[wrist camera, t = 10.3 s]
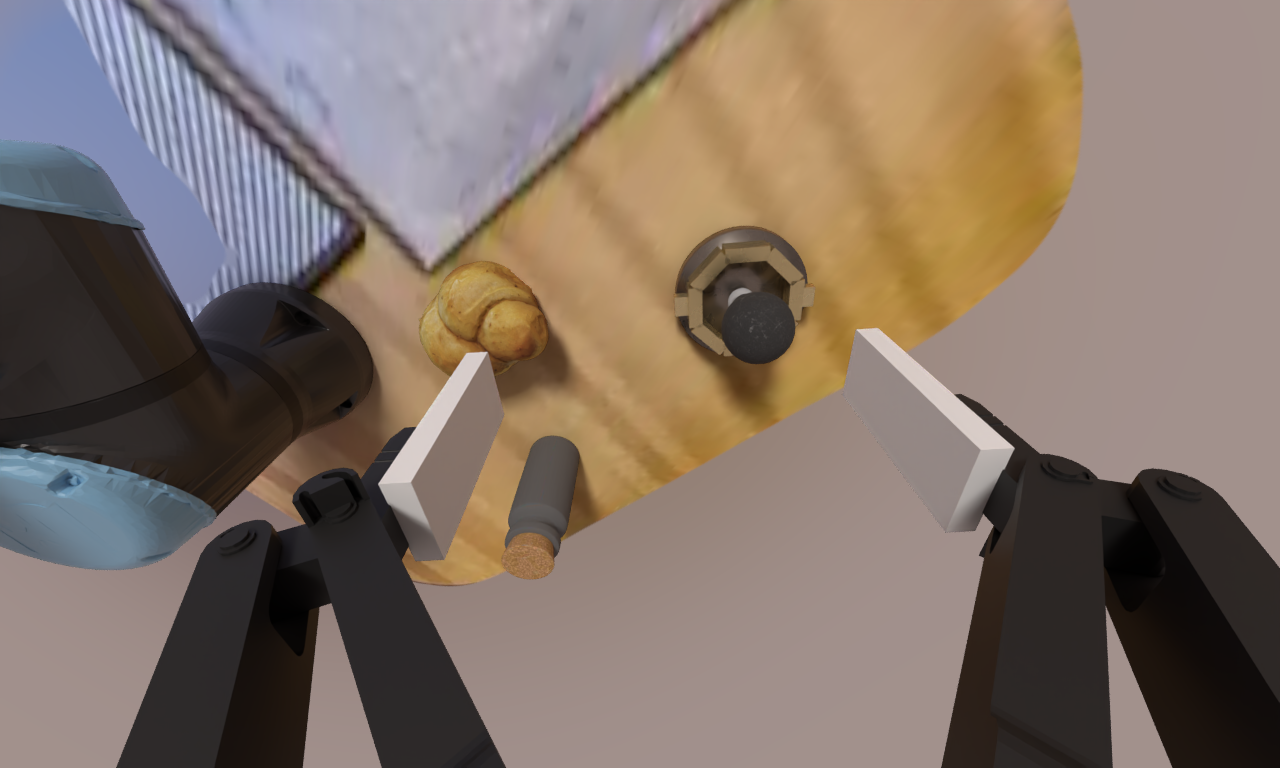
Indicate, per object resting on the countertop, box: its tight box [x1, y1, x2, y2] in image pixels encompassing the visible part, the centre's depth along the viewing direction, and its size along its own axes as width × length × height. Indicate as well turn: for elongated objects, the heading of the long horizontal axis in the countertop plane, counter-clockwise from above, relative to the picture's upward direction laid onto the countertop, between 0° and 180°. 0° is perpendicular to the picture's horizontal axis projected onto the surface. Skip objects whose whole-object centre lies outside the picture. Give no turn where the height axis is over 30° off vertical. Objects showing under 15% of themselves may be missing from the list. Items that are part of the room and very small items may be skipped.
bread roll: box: [419, 261, 549, 377], centre depth 41 cm, size 13×10×8 cm
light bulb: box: [721, 288, 795, 364], centre depth 37 cm, size 6×6×10 cm
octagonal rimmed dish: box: [674, 226, 815, 356], centre depth 41 cm, size 12×12×4 cm
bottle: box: [502, 436, 579, 579], centre depth 47 cm, size 6×6×15 cm
